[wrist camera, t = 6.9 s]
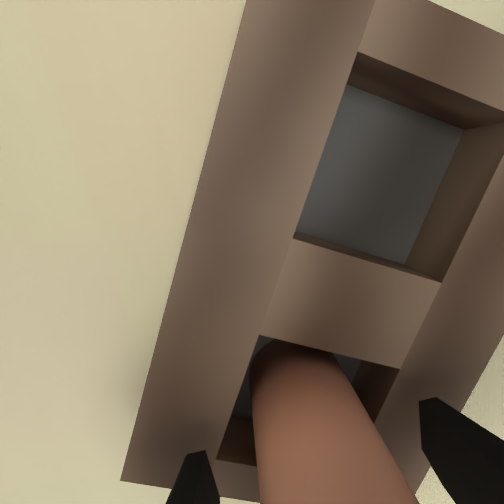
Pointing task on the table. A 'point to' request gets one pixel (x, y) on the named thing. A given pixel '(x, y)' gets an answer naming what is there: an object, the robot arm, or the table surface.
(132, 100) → the table surface
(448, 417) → the robot arm
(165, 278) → the table surface
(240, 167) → the peg block
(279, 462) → the pin
